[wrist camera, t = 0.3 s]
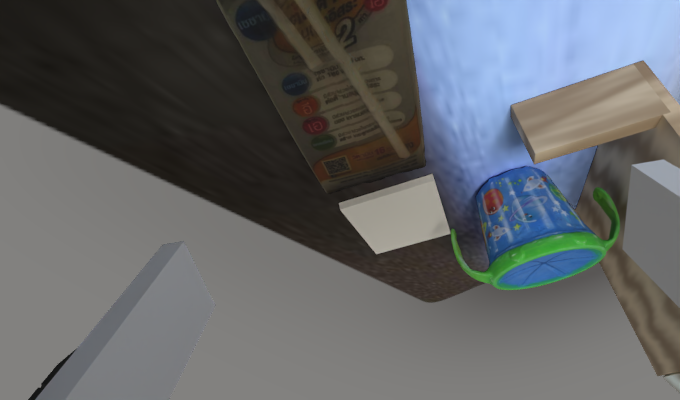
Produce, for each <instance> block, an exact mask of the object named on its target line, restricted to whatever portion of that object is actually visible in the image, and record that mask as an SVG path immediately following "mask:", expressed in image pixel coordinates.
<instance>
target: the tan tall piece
mask: <svg viewBox="0 0 680 400" xmlns="http://www.w3.org/2000/svg"><path fill="white" fill-rule="evenodd" d="M511 118H512V120H513V122H514V124H515V126H516V128H517V130H518V132H519V134H520V136H521V138H522V140H523V143H524V145H525V147H526V149H527V151H528V153H529V155H530V157H531V159H532V161H533V163H534V164H536V163H540V162H543V161H546V160H550V159H553V158H556V157H560V156H563V155H566V154H570V153H573V152H576V151H580V150H583V149H586V148H590V147H593V146H596V145H598V148H597V151H596V153H595V156H594V159H593V162H592V165H591V168H590V171H589V173H588V176H587V179H586V182H585V185H584V188H583V191H582V193H581V196H580V199H579V202H578V205H577V208H576V209H574V210H575V212H576V213H577V214H578V216H579V217H580V219H581V220H582V221H583V223H584V224H586V225H587V226H588V227H589V228H590V229H591V230H592V231H593V232H594V233H595V234H596V235H597V236H598V237H599V238H601V239H602V240H608V239H609V234H610V228H611V220H610V218H609V217H608V216H607V214H606V213H605V212H604V210H603V209H602V208H601V206H600V205H599V204H598V203H597V202H596V201H595V200H594V198H593V191H594V189H595V188H596V187H599V188H602V189H603V190H605V191H606V192H607V193H608V194H609V196H610V197H611V199H612V201H613V202H614V204H615V207H616V209H617V212H618V215H619V219H620V231H619V234H618V237H617V239H616V241H615V242H614V244H613V245H612V247H610V249H609V250H608V251H606V255H605V257H604V258H603V259H602V260H601V261H600V262H599V263H600V264H601V267H602V269H603V271H604V273H605V275H606V277H607V278H608V280H609V282H610V284H611V286H612V288H613V290H614V292H615V294H616V296H617V298H618V300H619V302H620V304H621V306H622V308H623V309H624V312H625V313H626V315H627V317H628V319H629V321H630V323H631V325H632V327H633V329H634V331H635V333H636V335H637V337H638V339H639V341H640V343H641V345H642V347H643V349H644V351H645V352H646V354H647V356H648V358H649V360H650V362H651V364H652V366H653V368H654V370H655V372H656V374H657V376H660V375H665V376H664V377H663V378H664V379H665V380H666V381H667V382H668V383H669V384H670V385H671V386H672V387H674V388H675V389H676V390H677V391H678V392H679V393H680V308H679V307H678V306H677V305H676V304H675V303H674V302H673V301H672V300H671V299H670V298H669V297H668V296H667V295H666V294H665V292H664V291H663V290H662V289H661V288H660V287H659V286H658V285H657V284H656V283H655V282H654V281H653V280H652V279H651V278H650V277H649V276H648V275H647V274H646V273H645V272H644V271H643V270H642V269H641V268H640V267H639V266H638V265H637V264H636V263H635V262H634V261H633V260H632V259H631V258H630V257H629V256H628V255H627V253H626V252H625V251H624V250H623V249H622V248H623V239H624V230H625V221H626V211H627V202H628V193H629V184H630V174H631V165H634V164H640V163H645V162H651V161H657V160H663V159H664V160H665V161H667V162H669V163H671V164H672V165H674V166H676V167H678V168H679V169H680V105H679V104H678V103H677V102H676V100H675V99H674V98H673V97H672V95H671V94H670V93H669V92H668V90H667V89H666V88H665V87H664V85H663V84H662V83H661V82H660V80H659V79H658V78H657V77H656V75H655V74H654V73H653V72H652V70H651V69H650V68H649V67H648V65H647V64H646V63H645V62H644V61H640V62H637V63H634V64H632V65H629V66H626V67H623V68H620V69H617V70H614V71H611V72H608V73H605V74H602V75H599V76H596V77H593V78H590V79H587V80H584V81H581V82H578V83H575V84H572V85H569V86H566V87H564V88H561V89H558V90H555V91H552V92H549V93H546V94H543V95H540V96H537V97H534V98H531V99H528V100H525V101H522V102H519V103H516V104H513V105H511Z"/></svg>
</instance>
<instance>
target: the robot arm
mask: <svg viewBox="0 0 680 400" xmlns="http://www.w3.org/2000/svg"><path fill="white" fill-rule="evenodd" d="M622 249H623V250H624V251H625V252H626V253H627V255H628V256H629V257H630V258H631V259H632V260H633V261H634V262H635V263H636V264H637V265H638V266H639V267H640V268H641V269H642V270H643V271H644V272H645V273H646V274H647V275H648V276H649V277H650V278H651V279H652V280H653V281H654V282H655V283H656V284H657V285H658V286H659V287H660V288H661V289H662V290H663V291H664V292H665V294H666V295H667V296H668V297H669V298H670V299H671V300H672V301H673V302H674V303H675V304H676V305H677V306H678V307H679V308H680V169H679V168H678V167H676V166H674V165H672V164H671V163H669V162H667V161H665V160H664V159H663V160H657V161H651V162H645V163H640V164H634V165H631V174H630V184H629V193H628V202H627V211H626V221H625V230H624V239H623V248H622ZM214 308H215V303H214V301H213V299H212V297H211V295H210V293H209V291H208V289H207V287H206V285H205V283H204V281H203V279H202V277H201V275H200V273H199V271H198V269H197V267H196V265H195V263H194V260H193V258H192V256H191V254H190V253H189V250H188V248H187V246H186V244H185V242H184V241H181V242H175V243H169V244H164V245H162V246H161V247H160V248H159V250H158V251H157V252H156V253H155V255H154V256H153V257H152V258H151V259H150V261H149V262H148V263H147V264H146V266H145V267H144V268H143V269H142V270H141V272H140V273H139V274H138V275H137V277H136V278H135V279H134V280H133V281H132V282H131V284H130V285H129V286H128V287H127V289H126V290H125V291H124V292H123V293H122V295H121V296H120V297H119V298H118V299H117V301H116V302H115V303H114V304H113V306H112V307H111V308H110V310H108V312H107V313H106V314H105V315H104V317H103V318H102V319H101V320H100V321H99V323H98V324H97V325H96V326H95V327H94V329H93V330H92V331H91V332H90V334H89V335H88V336H87V337H86V338H85V340H84V341H83V342H82V343H81V344H80V346H79V347H78V348H77V349H76V350H74V351H73V352H72V353H71V354H70V355H68V356H67V357H66V358H65V359H64V360H63V361H61V362H60V363H59V364H58V365H57V366H56V367H55V368H54V369H53V371H52V372H51V373H50V374H49V375H48V377H47V378H46V379H45V380H44V381H43V383H42V386H41V388H38V389H37V390H36V391H35V392H34V393H33V394H32V396H31V397H30V398H29V399H28V400H169V399H170V396H171V394H172V392H173V390H174V388H175V386H176V384H177V382H178V380H179V378H180V376H181V374H182V372H183V370H184V368H185V366H186V364H187V362H188V360H189V358H190V356H191V354H192V352H193V350H194V348H195V346H196V344H197V342H198V340H199V338H200V336H201V334H202V332H203V330H204V328H205V326H206V324H207V321H208V320H209V318H210V315H211V314H212V312H213V309H214Z"/></svg>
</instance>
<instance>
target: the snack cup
mask: <svg viewBox="0 0 680 400" xmlns="http://www.w3.org/2000/svg"><path fill="white" fill-rule="evenodd" d="M593 198H594V200H595V201H596V202H597V203H598V204H599V205H600V206H601V208H602V209H603V210H604V212H605V213H606V214H607V216H608V217H609V218H610V220H611V228H610V234H609V239H608V240H602V239H601V238H599V237H598V236H597V235H596V234H595V233H594V232H593V231H592V230H591V229H590V228H589V227H588V226H587V225H586V224H584V223H583V221H582V220H581V219H580V217H579V216H578V214H577V213H576V212H575V210H574V209H573V208H572V206H571V205H570V204H569V203H568V202H567V200H566V198H565V197H564V196H563V195H562V193H561V192H560V191H559V189H558V188H557V187H556V185H555V184H554V183H553V182H552V180H551V179H550V177H549V176H548V175H546V174H545V173H544V172H543V171H541V170H540V169H535V168H532V167H523V168H518V169H513V170H510V171H507V172H505V173H503V174H501V175H499V176H496V177H493V178H490V179H489V181H488V182H487V183H486V184H485V185H484V186H483V187H482V188H481V189H480V191H479V193H478V195H477V196H476V202H477V207H478V211H479V217H480V222H481V227H482V232H483V236H484V241H485V245H486V251H487V254H488V258H489V262H490V264H489V268H488V269H487V271H485V272H481V271H475V270H471V269H470V268H469V267H468V266H467V264H466V263H465V262H464V259H463V256H462V254H461V251H460V249H459V246H458V243H457V240H456V237H457V236H456V232H455V230H454V229H451V240H452V245H453V249H454V253H455V256H456V258H457V261H458V262H459V264H460V266H461V267H462V268H463V270H464V271H465V272H466V273H467V274H469V275H470V276H471V277H473V278H474V279H476V280H478V281H481V282H485V283H490V284H492V285H493V286H494V287H496V288H498V289H503V290H519V289H526V288H532V287H537V286H542V285H546V284H549V283H553V282H556V281H559V280H562V279H565V278H568V277H571V276H573V275H576V274H578V273H580V272H582V271H585V270H587V269H589V268H590V267H592V266H594V265H595V264H597V263H598V262H600V261H601V260H602V259H603V258H604V257H605V255H606V251H608V250H609V249H610V247H612V245H613V244H614V242H615V241H616V239H617V237H618V234H619V231H620V219H619V215H618V212H617V209H616V207H615V204H614V202H613V201H612V199H611V197H610V196H609V194H608V193H607V192H606V191H605V190H603V189H602V188H599V187H596V188H595V189H594V191H593Z"/></svg>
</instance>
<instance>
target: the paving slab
mask: <svg viewBox="0 0 680 400" xmlns="http://www.w3.org/2000/svg"><path fill="white" fill-rule="evenodd" d="M339 207H340V210H341V211H342V213H343V214H344V215H345V216H346V218H347V219H348V220H349V221H350V223H351V224H352V225H353V226H354V227H355V229H356V230H357V231H358V232H359V234H360V235H361V236H362V237H363V238H364V240H365V241H366V242H367V243H368V245H369V246H370V247H371V248H372V249H373V251H374V252H375V253H376V254H379V253H382V252H386V251H390V250H393V249H397V248H401V247H404V246H408V245H412V244H415V243H419V242H422V241H426V240H430V239H433V238H437V237H441V236H444V235H448V234H451V233H450V230H449V226H448V223H447V220H446V216H445V213H444V210H443V207H442V203H441V200H440V197H439V193H438V190H437V187H436V184H435V180H434V177H433V174H430V175H427V176H424V177H420V178H417V179H414V180H411V181H408V182H405V183H401V184H398V185H395V186H392V187H389V188H385V189H382V190H379V191H376V192H373V193H369V194H366V195H363V196H360V197H357V198H353V199H350V200H347V201H344V202H341V203H339Z"/></svg>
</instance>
